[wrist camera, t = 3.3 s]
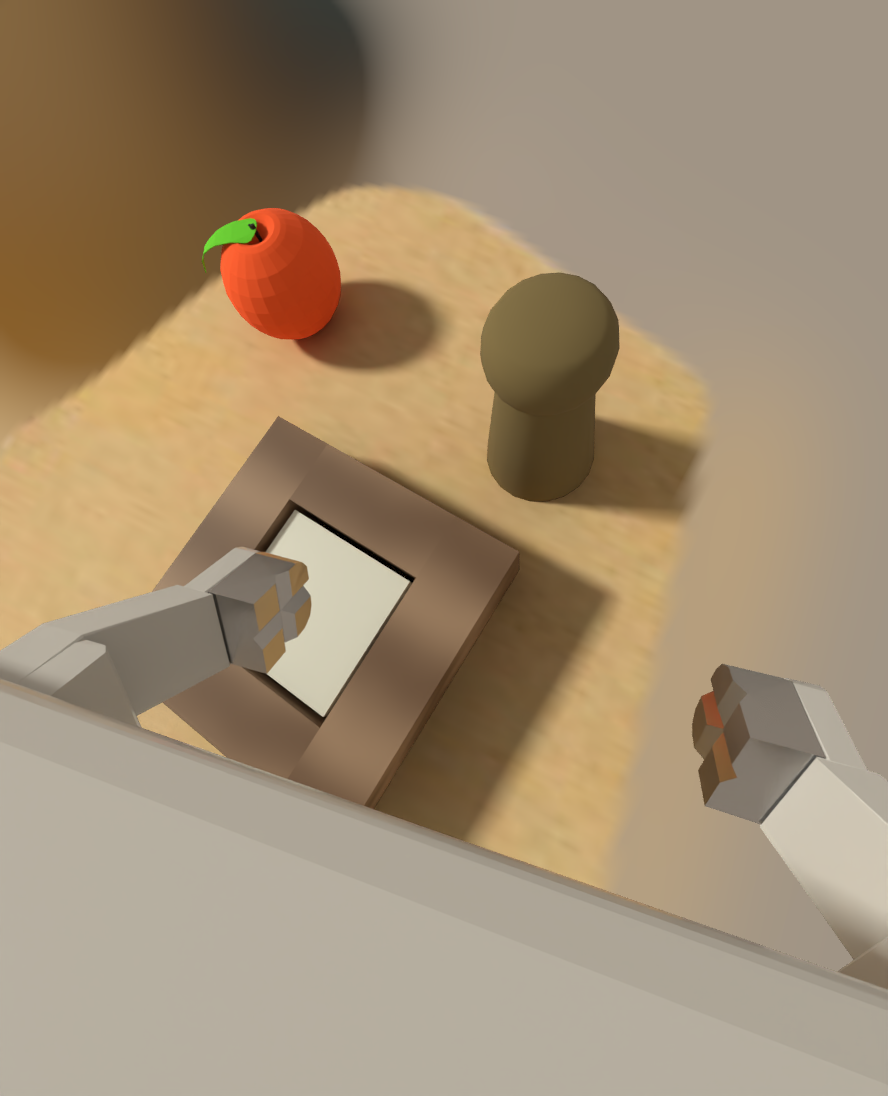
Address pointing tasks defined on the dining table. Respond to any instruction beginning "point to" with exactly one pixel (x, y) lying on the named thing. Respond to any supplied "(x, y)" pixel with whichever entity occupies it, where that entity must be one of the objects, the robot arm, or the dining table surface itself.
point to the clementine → (278, 272)
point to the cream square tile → (333, 611)
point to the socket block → (399, 651)
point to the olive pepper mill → (546, 382)
